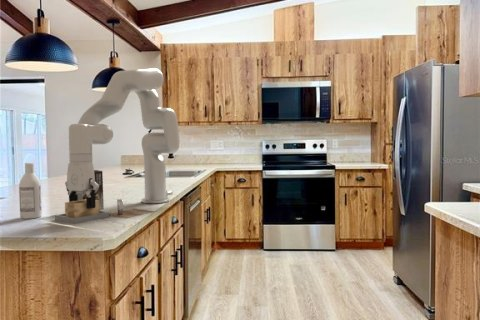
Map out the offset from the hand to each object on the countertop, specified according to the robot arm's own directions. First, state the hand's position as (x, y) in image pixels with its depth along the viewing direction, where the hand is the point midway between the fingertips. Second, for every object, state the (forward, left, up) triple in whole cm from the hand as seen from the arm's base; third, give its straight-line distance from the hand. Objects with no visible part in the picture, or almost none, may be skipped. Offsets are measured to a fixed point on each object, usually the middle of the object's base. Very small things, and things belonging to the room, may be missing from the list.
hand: (82, 207), depth 136 cm
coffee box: (-12, -12, -5) cm, 18 cm away
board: (-15, +8, -4) cm, 18 cm away
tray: (0, 0, -4) cm, 4 cm away
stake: (-11, +7, -4) cm, 14 cm away
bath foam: (+7, -20, -5) cm, 22 cm away
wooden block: (0, 0, -4) cm, 4 cm away
